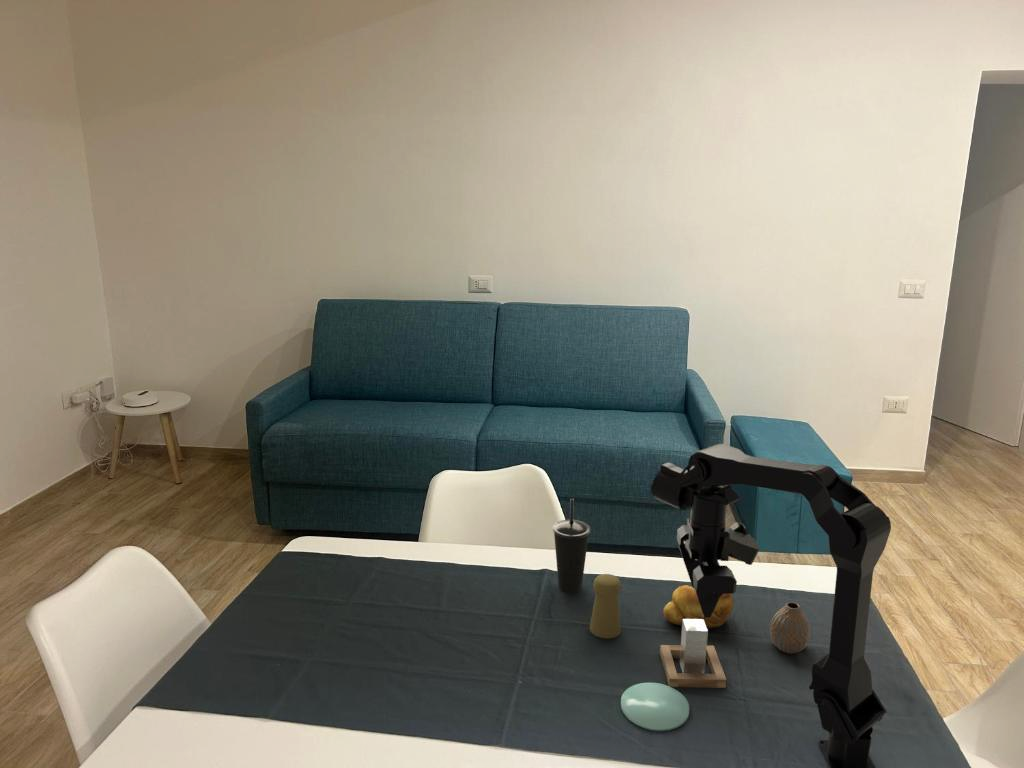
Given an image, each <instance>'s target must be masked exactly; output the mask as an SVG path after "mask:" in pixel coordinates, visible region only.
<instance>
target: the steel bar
mask: <svg viewBox="0 0 1024 768" xmlns="http://www.w3.org/2000/svg"><path fill="white" fill-rule="evenodd" d="M708 634H709V629H707V628H706V625H705V622H704V619H683V622H682V626H681V636H680V637H681V638H680V645H681V650H680V658H679V665H680V669H681V672H682V673H683V674H706V672H705V671H706V670H705V669H706V660H707V658H706V648H707V646H708V637H709V636H708Z"/></svg>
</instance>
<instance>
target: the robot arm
mask: <svg viewBox="0 0 1024 768" xmlns="http://www.w3.org/2000/svg"><path fill="white" fill-rule="evenodd" d="M659 470H660V471H659V472H658V473H656V475H655V477H654V479H653V481H652V483H651V485H650V493H651V496H652V497H653V498H654V499H655V500H658V501H660V502H662V503H664V504H667V505H670V506H672V507H674V508H676V509H678V510H681V511H685V510H687V509H689V508H690V517H687V520H686V522H687V523H686V524H682V525H681V526H680V527H678V528H677V530H676V541H677V544H678V548H679V551H680V554H681V557H682V561H683V564H684V566H685V569H686V572H687V575H688V579H689V580H690V583H691V587H692V588H694V589H695V592H696V594H697V598H698V601H699V604H700V607H701V610H702V613H703V616H704V617H705V618H710V617H711V615H712V613H713V611H714V609H715V607H716V605H717V602H718V600H719V599H720V597H721V596H722V595H723V594H730V593H731V594H732V595H734V593H736V591H737V582H738V581H737V579H736V577H735V575H734V573H733V571H732V570H731V569H730V567H728V565H720V563H719V560H720V561H722V562H723V561H724V562H729V557H730V558H732V559H734V560H737V561H740V562H743V563H745V565H748V566H752V565H753V563H754V562H755V560H756V557H757V555H758V553H759V551H760V546H759V544H758V543H757V541H756V539H755V538H754V537H752V536H751V534H749V533H747V528H746V526H745V524H744V523H741V522H739V521H736V522H734V523H733V524H732V525H731V526H729V527H728V528H727V527H726V523H727V521H726V520H727V514H728V513H727V511H728V505H730V504H733V503H734V502H735V503H736V502H737V501H739V500H740V499H741V496H740V495H739V493H738V492H737V491H735V489H734V488H733V486H732V485H745V486H750V487H752V486H753V487H757V488H762V489H763V488H764V489H770V490H775V491H781V492H787V493H792V494H798V495H802V496H803V497H804V498H805V499H806V501H807V502H808V503H809V506H810V508H811V511H812V513H813V516H814V519H815V521H816V523H817V525H819V526H820V527H821V529H822V530H823V531H824V532H825V533H826V535H827V536H828V537H827V538H828V550H829V551H828V552H829V553H830V555H831V558H832V560H833V562H834V563H835V566H836V577H835V587H834V595H833V596H834V597H833V609H832V617H831V618H832V619H831V627H830V639H829V649H828V653H827V654H825V655H824V656H823V657H821V658H820V659H818V660H817V661H815V662H814V663H812V667H811V677H812V678H811V683H810V684H809V687H808V688H809V690H812V698H813V702H814V703H815V704H816V705H817V709H818V714H819V719H820V723H821V727H822V729H823V730H825V731H827V733H828V739H820V740H819V741H818V746H819V748H820V750H821V752H822V754H823V756H824V759H825V761H826V762H827V765H828V767H829V768H876V766H875V765H874V763H873V761H872V758H871V757H870V750H871V744H872V740H873V739H872V738H873V730H874V729H873V727H874V726H875V725H876V724H877V723H879V722H880V721H882V720H883V718H884V716H886V714H887V709H886V708H885V707H884V705H883V704H882V702H881V699H880V698H879V696H878V695H877V693H876V692H875V690H874V689H873V682H872V671H871V669H870V666H869V665H868V663H867V661H866V658H865V650H866V639H867V631H868V630H867V629H868V622H869V613H870V603H871V595H872V587H873V575H874V570H875V568H876V565H878V562H879V560H880V558H881V556H882V554H883V552H884V550H885V548H886V545H887V542H888V540H889V537H890V533H891V530H892V525H891V524H892V523H891V520H890V517H889V516H887V514H886V513H885V512H884V510H883V509H882V508H881V507H879V506H877V505H876V504H874V502H872V500H871V499H870V498H869V497H868V496H867V495H866V494H865V492H864V491H862V490H860V489H859V488H857V487H856V486H854V485H853V484H851V483H849V482H848V481H846V480H845V479H843V478H842V477H841V476H840V475H839V474H838V472H836V471H835V469H833V468H832V466H829V465H827V464H808V463H802V462H801V463H800V462H794V461H786V460H780V459H779V460H778V459H773V458H772V459H771V458H765V457H758V456H752V455H749V454H745V453H744V452H743V451H742V450H741V449H739V448H737V447H733V446H730V445H727V444H724V443H718V444H715V445H711V446H709V447H706V448H703V449H700V450H697V451H695V452H692V454H691V455H690V457H689V460H688V464H687V465H686V466H685V468H681V467H679V466H678V465H676V464H674V463H672V462H668V461H667V462H666V463H663V464H661V465H660V469H659ZM833 500H834V501H836V502H837V503H838V504H840V505H842V506H843V507H845V508H846V509H847V510H846V511H844V512H841V513H840V512H839V510H838V509H837V508H836V507H835V505H834V503H833Z"/></svg>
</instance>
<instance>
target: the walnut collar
mask: <svg viewBox="0 0 1024 768" xmlns="http://www.w3.org/2000/svg"><path fill="white" fill-rule="evenodd" d="M659 646H660V647H659V654H660V655H659V656H660V658H661V661H662V666H663V669H664V672H665V673H664V674H665V677H666V681H667V686H669V687H672V688H709V689H710V688H716V689H717V688H720V689H721V688H723V689H725V688H727V677H726V675H725V673H724V672H725V671H724V669H723V666H722V664H721V662H720V659H719V656H718V654H717V651H716V648H715V645H707V648H706V660H707V664H708V667H709V669H710V672H711V673H704V674H683V673H681V672H680V673H677V669H676V666H675V662H674V659H680V650H681V644H678V645H677V644H660V645H659Z"/></svg>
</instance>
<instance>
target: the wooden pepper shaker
mask: <svg viewBox="0 0 1024 768" xmlns="http://www.w3.org/2000/svg"><path fill="white" fill-rule="evenodd" d="M592 586H593V587H592V588H593V592H594V593H595V596H594V602H593V607H592V611H591V619H590V624H589V632H590V633H591V634H592V635H593V636H595V637H598V638H599V639H600V638H601V639H615V638H617V637H619V636H620V635H621V632H622V623H621V615H620V614H621V613H620V604H619V601H620V600H619V595H620V592H621V590H622V583H621V580H620V579H619V578H618V576H616V575H613V574H612V573H603V574H599V575H598V576H596V577H595V578H594V581H593V584H592Z"/></svg>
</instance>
